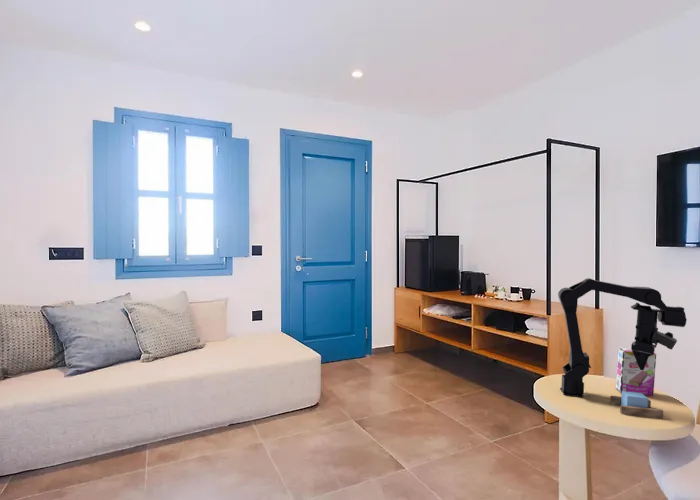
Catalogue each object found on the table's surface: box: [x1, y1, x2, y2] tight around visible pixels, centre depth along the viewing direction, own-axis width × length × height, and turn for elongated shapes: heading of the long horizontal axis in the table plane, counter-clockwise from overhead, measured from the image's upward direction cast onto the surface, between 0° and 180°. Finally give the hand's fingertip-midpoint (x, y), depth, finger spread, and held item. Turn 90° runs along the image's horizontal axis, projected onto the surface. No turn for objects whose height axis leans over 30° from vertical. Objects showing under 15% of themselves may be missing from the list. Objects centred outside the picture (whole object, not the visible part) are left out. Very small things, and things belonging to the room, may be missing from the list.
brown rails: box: [609, 395, 664, 419], centre depth 135 cm, size 12×9×2 cm
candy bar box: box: [615, 347, 657, 397], centre depth 151 cm, size 11×5×16 cm, turn 77°
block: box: [620, 391, 649, 408], centre depth 135 cm, size 6×4×6 cm
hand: (643, 366), depth 140 cm, fingers open, 9 cm apart
